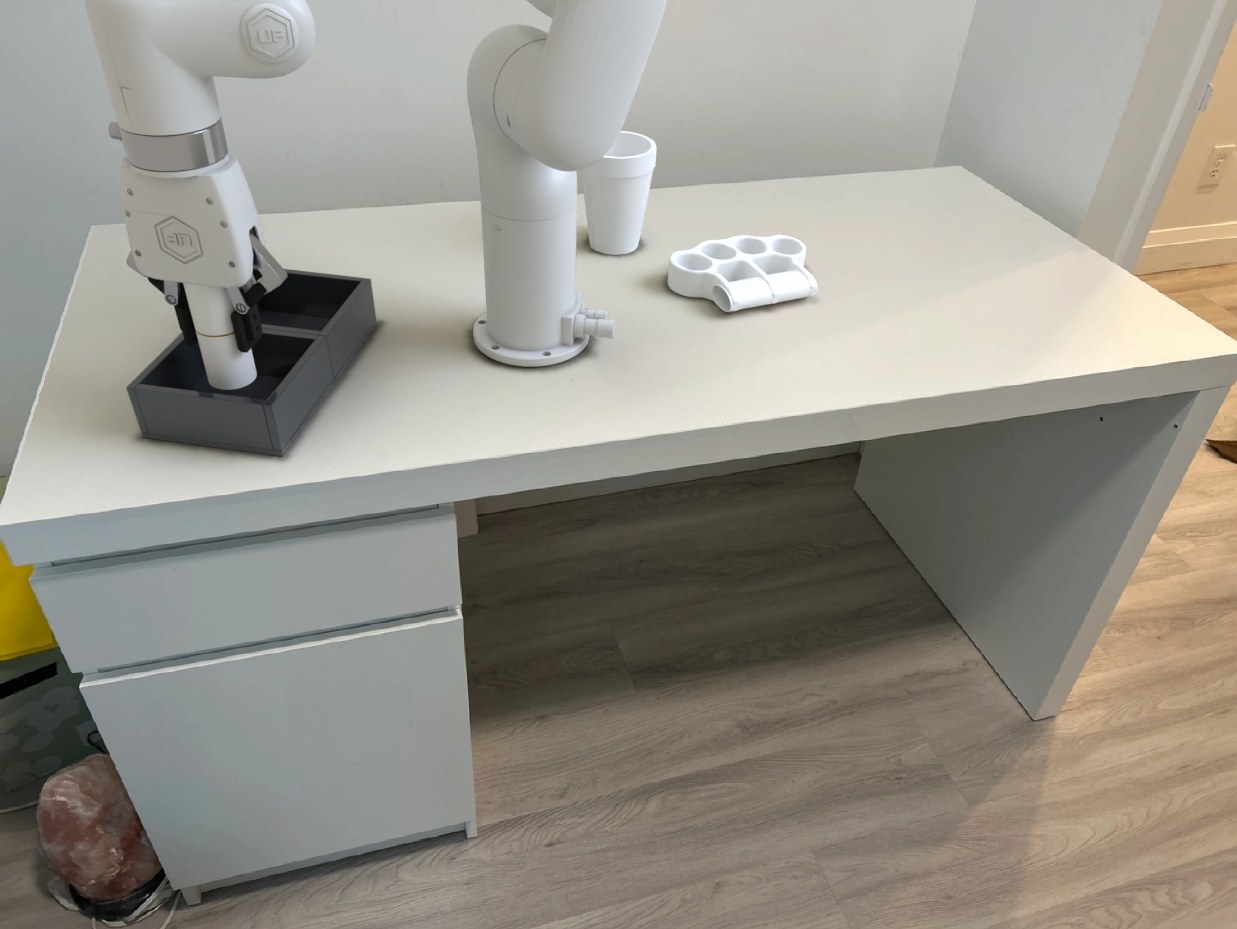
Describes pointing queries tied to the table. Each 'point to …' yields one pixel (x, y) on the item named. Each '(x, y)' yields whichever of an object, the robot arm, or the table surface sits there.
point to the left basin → (234, 395)
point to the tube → (219, 338)
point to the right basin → (322, 311)
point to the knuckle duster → (743, 271)
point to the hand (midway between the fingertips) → (223, 339)
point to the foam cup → (619, 193)
